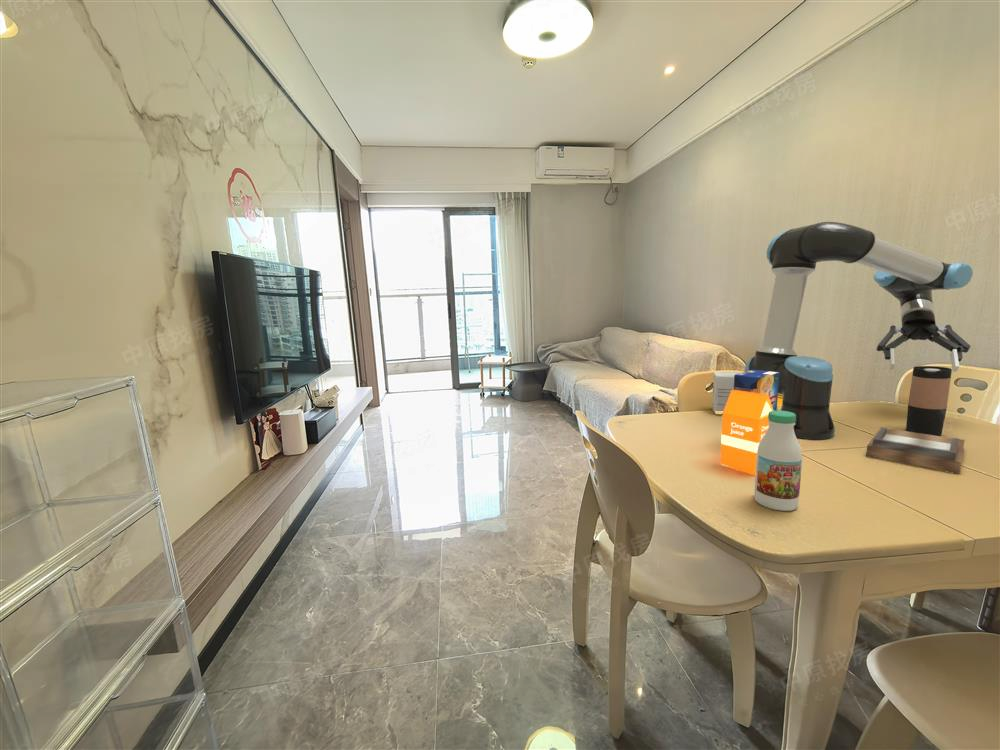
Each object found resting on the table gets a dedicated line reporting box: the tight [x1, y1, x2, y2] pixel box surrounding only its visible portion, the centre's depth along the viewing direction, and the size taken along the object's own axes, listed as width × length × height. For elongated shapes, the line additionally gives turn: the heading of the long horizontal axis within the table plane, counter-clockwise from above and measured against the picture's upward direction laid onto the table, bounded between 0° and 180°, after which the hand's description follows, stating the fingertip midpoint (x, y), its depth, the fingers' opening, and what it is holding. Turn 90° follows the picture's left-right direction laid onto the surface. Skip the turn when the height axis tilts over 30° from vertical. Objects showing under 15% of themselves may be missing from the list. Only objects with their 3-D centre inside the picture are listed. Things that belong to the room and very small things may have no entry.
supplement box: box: [712, 371, 741, 412], centre depth 145 cm, size 9×9×15 cm
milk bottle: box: [753, 409, 803, 512], centre depth 81 cm, size 8×8×20 cm
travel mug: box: [905, 365, 953, 437], centre depth 113 cm, size 8×8×20 cm
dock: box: [865, 426, 966, 475], centre depth 103 cm, size 16×23×5 cm
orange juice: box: [719, 390, 773, 476], centre depth 99 cm, size 8×9×20 cm
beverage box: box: [734, 370, 780, 411], centre depth 110 cm, size 7×11×22 cm, turn 123°
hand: (923, 367), depth 120 cm, fingers open, 13 cm apart
